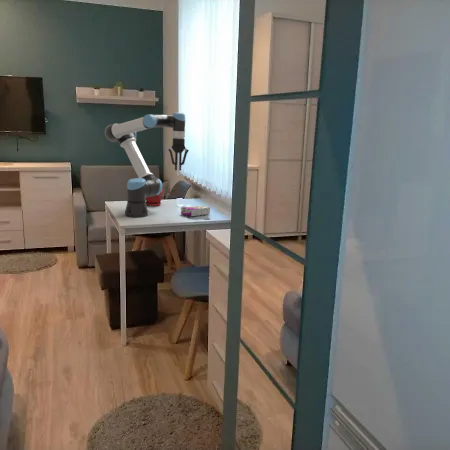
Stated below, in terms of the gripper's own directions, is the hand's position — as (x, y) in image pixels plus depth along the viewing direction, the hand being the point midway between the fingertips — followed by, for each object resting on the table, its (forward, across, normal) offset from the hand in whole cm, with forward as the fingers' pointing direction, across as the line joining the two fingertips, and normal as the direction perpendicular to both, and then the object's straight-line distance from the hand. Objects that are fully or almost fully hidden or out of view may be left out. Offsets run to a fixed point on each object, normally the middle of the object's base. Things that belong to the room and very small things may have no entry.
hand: (177, 175), depth 279 cm
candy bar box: (+24, +6, +2) cm, 25 cm away
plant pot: (+28, -13, +39) cm, 49 cm away
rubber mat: (+27, +14, -1) cm, 31 cm away
